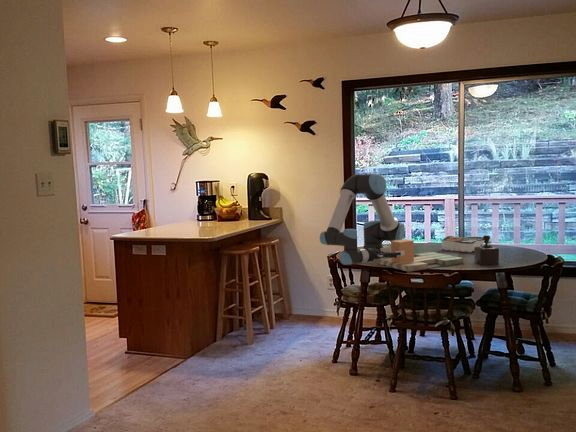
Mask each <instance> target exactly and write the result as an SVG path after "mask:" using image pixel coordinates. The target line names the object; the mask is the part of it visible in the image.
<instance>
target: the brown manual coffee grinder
mask: <svg viewBox="0 0 576 432" xmlns="http://www.w3.org/2000/svg"><path fill="white" fill-rule="evenodd" d="M482 237H483V239H484V243H483V245H481V246H478V247H474V251H473V253H474V254H473V255H474V256H473V257H474V259H473V261H474V263H475V264H477V265H480V266H494V265H493V264H498V265H499V262H500V261H499V259H500V258H499V257H500V248H498V247H495V246H492V245H491V244H492V240H491V236H490V235H489V234H484V235H483V236H482Z"/></svg>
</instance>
